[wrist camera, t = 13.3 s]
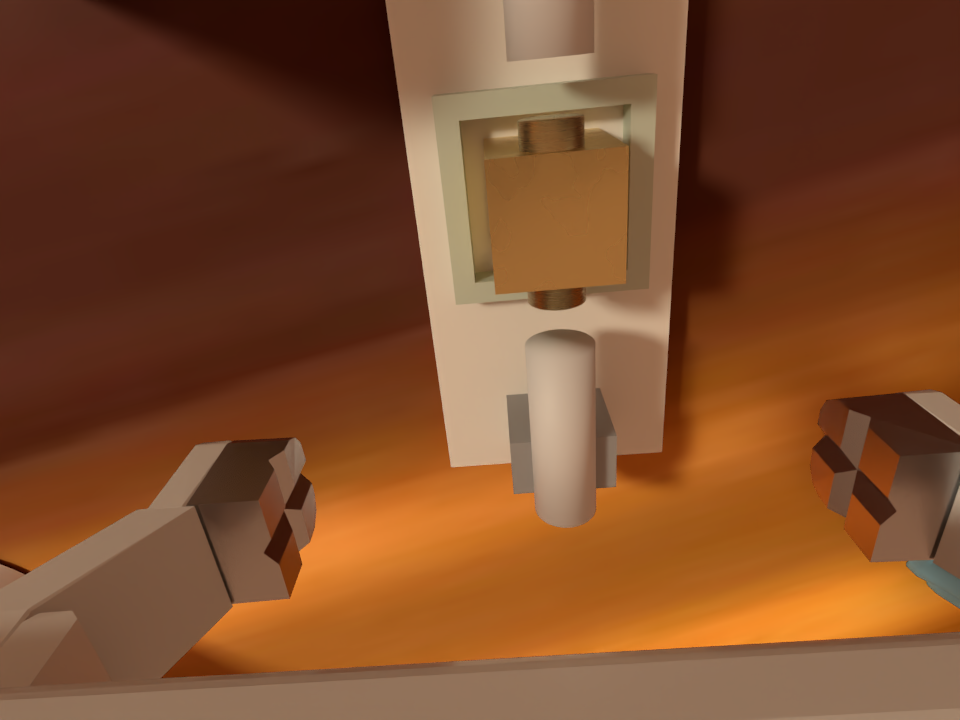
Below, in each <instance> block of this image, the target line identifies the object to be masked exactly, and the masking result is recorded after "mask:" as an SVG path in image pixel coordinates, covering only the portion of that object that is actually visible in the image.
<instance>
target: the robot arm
mask: <svg viewBox="0 0 960 720" xmlns="http://www.w3.org/2000/svg"><path fill="white" fill-rule="evenodd" d="M818 425H819V427H820V428H821V430H822V431H823V432H824V434H825V436H824V437H823V438H822V439H821V440H820V441H819V442H818V443H817V444H816V445H815V446H814V447H813V449H812V456H811V462H810V470H811V476H812V483H813V485H814V488H815V490H816V492H817V494H818V496H819V498H820V499H821V500H822V502H823V503H824V504H825V506H826V507H827V508H828V509H830V510H832V511H834V512H836V513H838V514H840V515H842V516H844V517H846V520H845V524H844V530H845V531H846V532H847V534H848V535H849V536H850V537H851V539H852V540H853V541H854V542H855V544H856V545H857V546H858V547H859V549H860V550H861V551H862V552H863V554H864V555H865V556H866V557H867V559H868V560H869V561H870V562H887V561H915V560H934V561H933V563H934V564H936V565H938V566H939V567H941V568H942V569H944V570H946V571H947V572H949V573H951V574H952V575H954V576H955V577H957V578H959V579H960V405H959V404H958V403H956V402H955V401H953V400H952V399H951V398H949V397H948V396H946V395H945V394H943V393H942V392H938V391H934V390H920V391H911V392H902V393H895V394H885V395H874V396H864V397H853V398H843V399H833V400H826V402H825V403H824V405H823V407H822V408H821V410H820V415H819V419H818ZM305 461H306V460H305V456H304V453H303V450H302V446H301V443H300V442H299V441H298V440H297V439H296V438H276V439H256V440H237V441H219V442H208V443H202V444H198V445H196V446H195V447H194V448H193V449H192V451H191V452H190V453H189V455H188V456H187V457H186V459H185V460H184V461H183V463H182V464H181V465H180V467H179V468H178V469H177V471H176V472H175V473H174V475H173V476H172V477H171V479H170V480H169V481H168V483H167V484H166V485H165V487H164V488H163V489H162V491H161V492H160V493H159V495H158V496H157V497H156V499H155V500H154V501H153V503H152V504H151V505H150V507H149V508H148V509H142V510H136V511H134V512H133V513H131V514H129V515H127V516H126V517H124V518H122V519H120V520H119V521H117V522H115V523H114V524H112V525H110V526H108V527H107V528H105V529H103V530H101V531H100V532H98V533H96V534H95V535H93V536H91V537H89V538H88V539H86V540H84V541H83V542H81V543H79V544H77V545H76V546H74V547H72V548H70V549H69V550H67V551H65V552H64V553H62V554H60V555H58V556H57V557H55V558H53V559H51V560H50V561H48V562H46V563H45V564H43V565H41V566H39V567H38V568H36V569H34V570H33V571H31V572H29V573H27V574H26V575H25V574H23V573H21V572H18V571H16V570H14V569H11V568H9V567H6V566H4V565H1V564H0V720H960V632H951V633H934V634H917V635H900V636H883V637H865V638H848V639H831V640H814V641H797V642H780V643H762V644H745V645H727V646H710V647H692V648H675V649H657V650H640V651H622V652H605V653H587V654H570V655H552V656H535V657H518V658H501V659H485V660H468V661H452V662H435V663H419V664H402V665H385V666H369V667H352V668H336V669H319V670H302V671H286V672H269V673H251V674H232V675H214V676H195V677H177V678H161V677H162V676H163V675H164V674H165V673H166V672H167V671H168V670H169V669H170V668H171V667H172V666H173V665H174V664H175V663H176V662H177V661H179V660H180V659H181V658H182V657H183V656H184V655H185V654H186V653H187V652H188V651H189V650H190V649H191V648H192V647H193V646H194V645H195V644H196V643H197V642H198V641H199V640H200V639H201V638H202V637H203V636H204V635H205V634H206V633H207V632H208V631H209V630H210V629H211V628H212V627H213V626H214V625H215V624H216V623H217V622H218V621H219V620H220V619H221V618H222V617H223V616H224V615H225V614H226V613H227V612H228V611H229V610H230V609H231V608H232V604H236V603H247V602H257V601H268V600H279V599H290V596H291V594H292V591H293V588H294V585H295V583H296V580H297V577H298V574H299V572H300V569H301V566H302V561H301V558H300V554H299V551H300V550H301V549H302V548H303V547H305V546H306V545H307V544H308V543H309V542H310V540H311V537H312V534H313V531H314V528H315V518H316V502H315V494H314V490H313V486H312V483H311V482H310V481H309V480H308V479H306V478H305V477H304V476H303V475H302V474H301V473H300V472H301V470H302V468H303V465H304V463H305Z"/></svg>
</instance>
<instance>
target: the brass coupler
mask: <svg viewBox="0 0 960 720" xmlns="http://www.w3.org/2000/svg"><path fill="white" fill-rule="evenodd" d="M517 124H518V135H517V136H507V137H497V138H486V139H484V166H485V177H486V189H487V201H488V213H489V225H490V236H491V248H492V260H493V272H494V283H495V295H498V294H509V293H521V292H527V295H528V303H529V304H530V305H531V306H532V307H534V308H537V309H541V310H551V311H557V310H567V309H572V308H575V307H578V306H580V305H582V304H583V303H584V302H585V301H586V287H592V286H604V285H615V284H626V262H627V215H628V169H629V146H628V145H627V144H625V143H623V142H622V141H620V140H618V139H617V138H615V137H613V136H612V135H610V134H608V133H607V132H605V131H603V130H602V129H600V128H590V129H585V127H584V115H583V114H554V115H543V116H535V117H529V118H524V119H520V120H518V121H517Z"/></svg>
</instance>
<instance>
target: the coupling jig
mask: <svg viewBox="0 0 960 720" xmlns="http://www.w3.org/2000/svg"><path fill="white" fill-rule="evenodd" d="M385 2H386V9H387V16H388V23H389V30H390V37H391V44H392V51H393V59H394V66H395V73H396V80H397V87H398V94H399V101H400V108H401V115H402V122H403V129H404V137H405V144H406V151H407V158H408V165H409V172H410V179H411V186H412V193H413V200H414V208H415V215H416V222H417V229H418V236H419V243H420V250H421V257H422V264H423V271H424V278H425V286H426V293H427V300H428V307H429V314H430V321H431V328H432V335H433V342H434V349H435V356H436V364H437V371H438V378H439V385H440V392H441V399H442V406H443V413H444V420H445V427H446V434H447V442H448V449H449V456H450V463H451V467H461V466H475V465H489V464H503V463H511V464H512V476H513V488H514V494H520V493H534V496H535V509H536V513H537V514H538V516H539V517H540V518H541V519H542V520H543V521H545V522H546V523H548V524H550V525H553V526H557V527H565V528H567V527H576V526H579V525H582V524H584V523H586V522H588V521H589V520H590V519H591V518H592V517H593V516H594V514H595V511H596V488H606V487H616V461H617V455H628V454H642V453H656V452H662V444H663V427H664V410H665V393H666V376H667V359H668V342H669V325H670V308H671V290H672V273H673V256H674V239H675V222H676V205H677V188H678V171H679V154H680V137H681V119H682V102H683V85H684V68H685V51H686V34H687V17H688V0H385ZM554 114H583V115H584V127H585V129H590V128H600V129H602V130H603V131H605V132H607V133H608V134H610V135H612V136H613V137H615V138H617V139H618V140H620V141H622V142H623V143H625V144H627V145H628V146H629V169H628V215H627V262H626V284H615V285H604V286H592V287H586V301H585V302H584V303H583V304H582V305H580V306H578V307H575V308H572V309H567V310H557V311H551V310H541V309H537V308H534V307H532V306H531V305H530V304H529V303H528V295H527V292H521V293H509V294H498V295H495V283H494V272H493V260H492V248H491V236H490V225H489V213H488V201H487V189H486V177H485V166H484V139H486V138H497V137H507V136H517V135H518V124H517V121H518V120H520V119H524V118H529V117H535V116H543V115H554Z"/></svg>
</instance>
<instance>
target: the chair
mask: <svg viewBox="0 0 960 720" xmlns="http://www.w3.org/2000/svg"><path fill="white" fill-rule="evenodd" d="M933 561H934V560H915V561H908V562H907V563H906V566H907V567H908V568H909V569H910V570H911V571H912V572H913V573H914V574H915V575H916V576H918V577H919V578H921V579H923V580H925V581H927V582H926V583H927V585H928V586H929V587H930V588H931V589H932V590H933V591H934V592H935V593H936V594H938V595H939V596H941V597H942V598H944V599H946V600H947V601H949V602H950V603H952V604H953V605H955V606H956V607H958V608H959V609H960V579H959V578H957V577H955V576H954V575H952V574H951V573H949V572H947V571H946V570H944V569H942V568H941V567H939V566H938V565H936V564H934V563H933Z"/></svg>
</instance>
